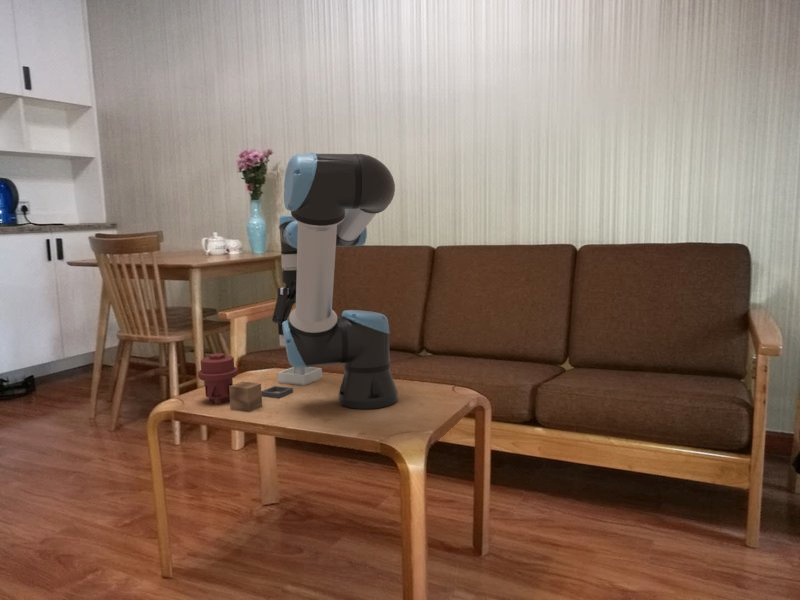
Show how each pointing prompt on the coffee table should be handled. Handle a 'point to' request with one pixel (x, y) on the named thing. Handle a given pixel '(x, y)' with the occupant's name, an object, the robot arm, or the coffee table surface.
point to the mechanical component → (218, 376)
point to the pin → (299, 370)
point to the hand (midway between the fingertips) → (298, 342)
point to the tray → (300, 376)
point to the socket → (282, 392)
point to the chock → (245, 396)
